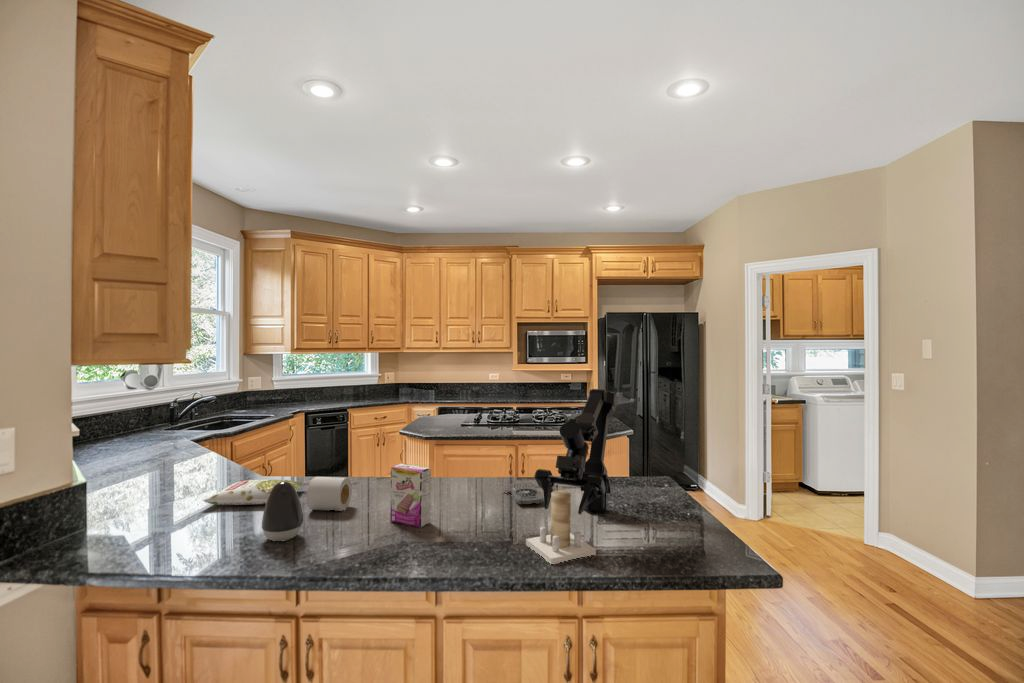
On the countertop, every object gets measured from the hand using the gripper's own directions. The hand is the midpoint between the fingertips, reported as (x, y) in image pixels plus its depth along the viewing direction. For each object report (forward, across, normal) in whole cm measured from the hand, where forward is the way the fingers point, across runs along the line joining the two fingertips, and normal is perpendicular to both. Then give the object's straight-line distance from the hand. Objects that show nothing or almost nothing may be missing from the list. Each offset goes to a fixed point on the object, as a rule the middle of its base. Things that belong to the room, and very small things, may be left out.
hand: (562, 511), depth 130 cm
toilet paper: (+10, -76, +4) cm, 76 cm away
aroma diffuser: (+26, -70, -13) cm, 76 cm away
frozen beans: (+13, -104, +1) cm, 105 cm away
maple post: (+7, 0, +5) cm, 8 cm away
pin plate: (+8, 0, +6) cm, 10 cm away
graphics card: (-15, -25, +30) cm, 42 cm away
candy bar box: (+9, -46, +5) cm, 47 cm away
